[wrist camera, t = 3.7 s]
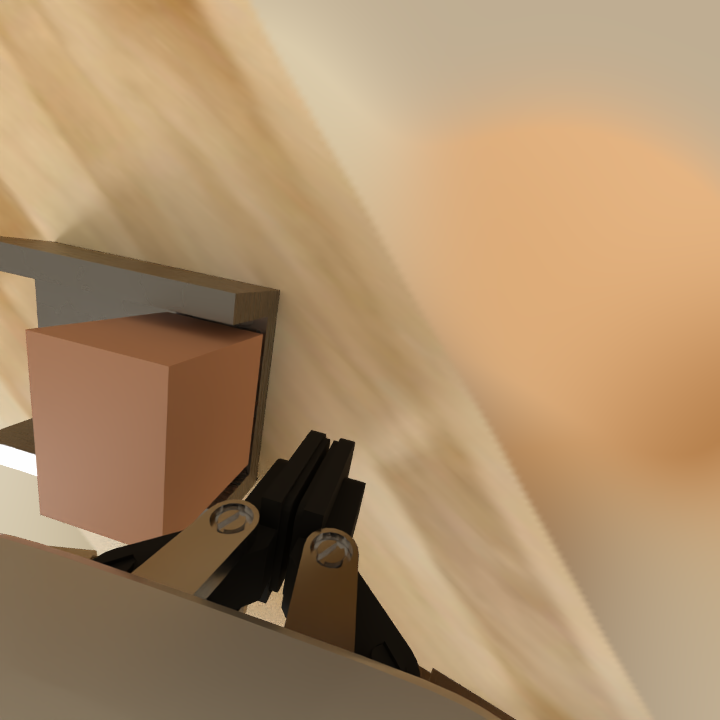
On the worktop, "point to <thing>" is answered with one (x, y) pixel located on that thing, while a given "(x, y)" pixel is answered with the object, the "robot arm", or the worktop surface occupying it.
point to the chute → (132, 298)
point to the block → (140, 420)
